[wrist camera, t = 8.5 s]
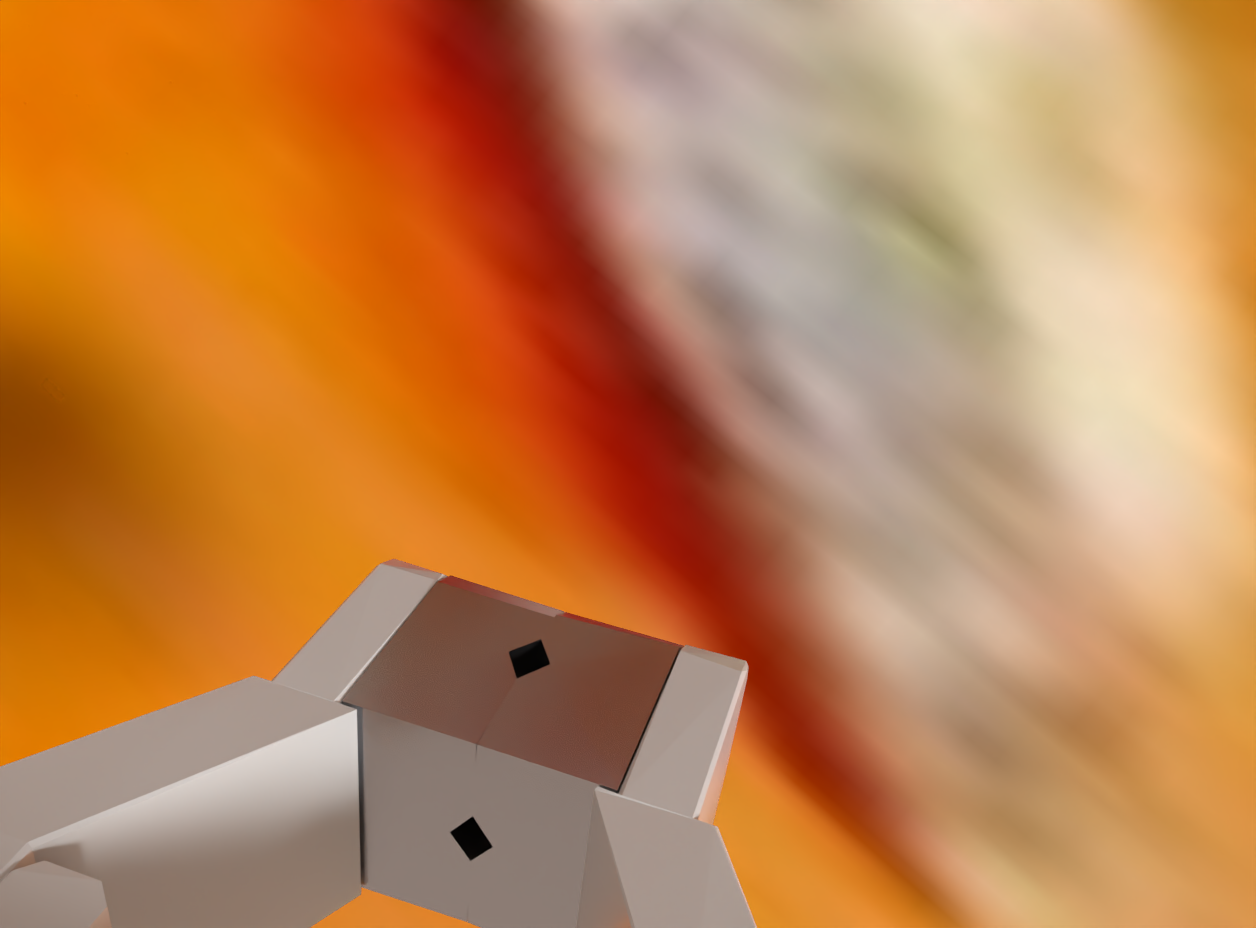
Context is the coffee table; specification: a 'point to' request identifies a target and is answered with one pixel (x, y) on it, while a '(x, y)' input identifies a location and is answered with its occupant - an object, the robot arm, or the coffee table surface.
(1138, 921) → the coffee table surface
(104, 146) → the coffee table surface
